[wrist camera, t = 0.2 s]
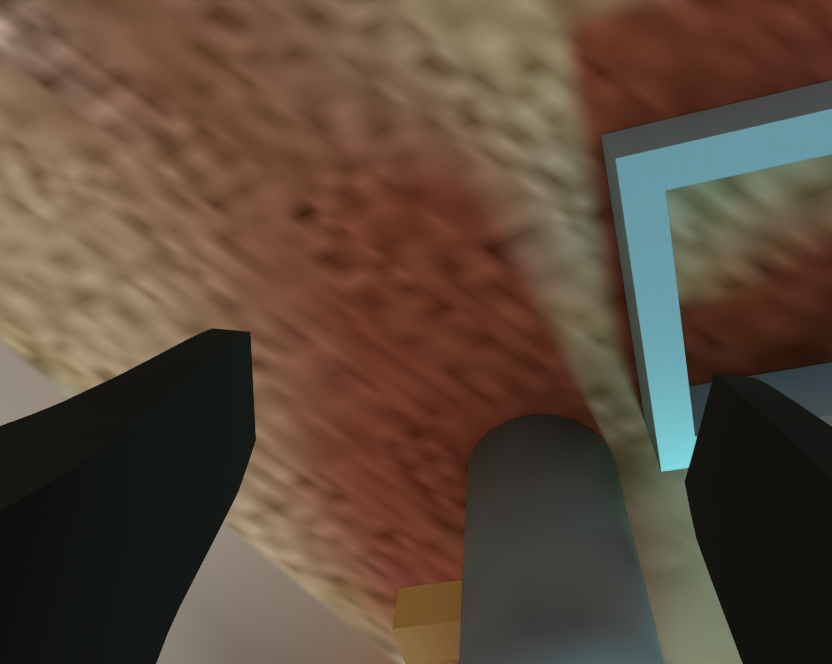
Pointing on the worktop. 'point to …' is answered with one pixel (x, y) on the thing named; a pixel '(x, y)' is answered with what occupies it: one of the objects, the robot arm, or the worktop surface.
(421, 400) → the worktop surface
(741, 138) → the light blue shallow tray
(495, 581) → the dark grey rounded cylinder
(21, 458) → the robot arm
